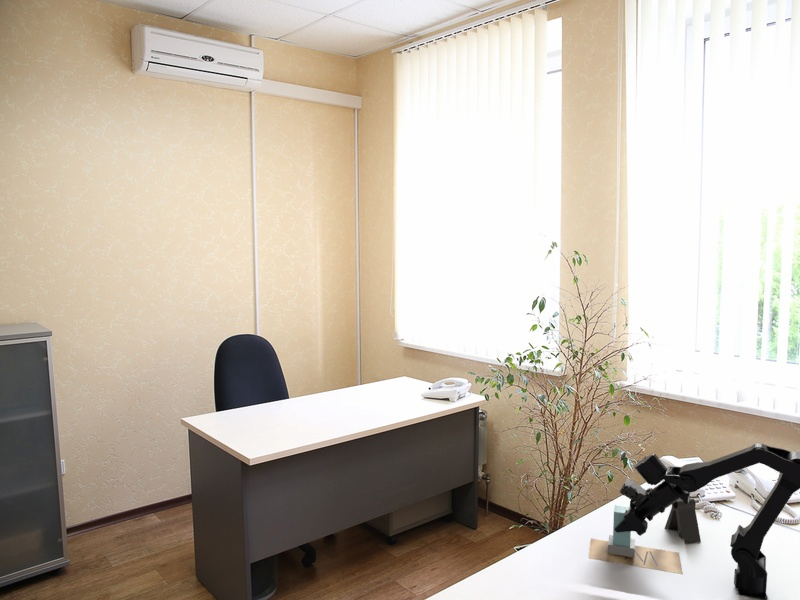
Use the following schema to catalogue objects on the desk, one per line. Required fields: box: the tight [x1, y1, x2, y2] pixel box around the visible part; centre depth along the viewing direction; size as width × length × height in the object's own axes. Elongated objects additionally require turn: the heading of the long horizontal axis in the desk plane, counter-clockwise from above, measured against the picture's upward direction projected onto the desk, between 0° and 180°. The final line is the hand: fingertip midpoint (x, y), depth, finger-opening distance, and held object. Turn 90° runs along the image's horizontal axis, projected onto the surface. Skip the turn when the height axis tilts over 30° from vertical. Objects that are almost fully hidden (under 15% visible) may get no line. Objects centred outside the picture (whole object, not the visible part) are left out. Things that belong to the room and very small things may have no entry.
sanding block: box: [607, 504, 636, 558], centre depth 174 cm, size 7×6×12 cm
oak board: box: [588, 538, 684, 575], centre depth 173 cm, size 24×12×2 cm, turn 70°
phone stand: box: [664, 496, 702, 545], centre depth 187 cm, size 9×6×12 cm, turn 13°
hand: (617, 527), depth 174 cm, fingers closed on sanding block, 5 cm apart
